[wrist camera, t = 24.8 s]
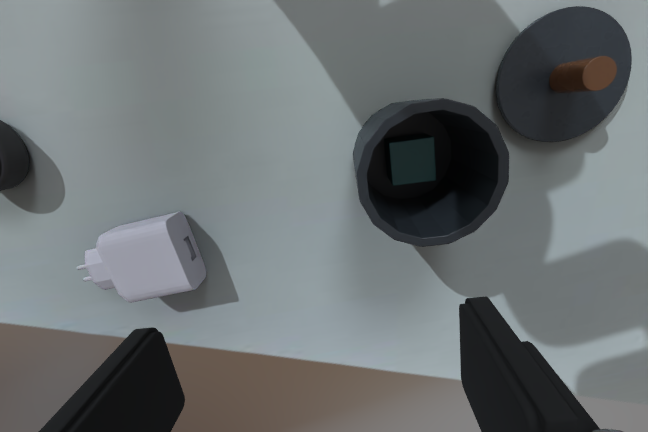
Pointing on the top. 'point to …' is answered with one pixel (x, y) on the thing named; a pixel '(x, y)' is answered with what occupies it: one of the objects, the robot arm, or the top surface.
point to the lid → (563, 74)
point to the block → (410, 159)
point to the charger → (147, 259)
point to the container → (451, 172)
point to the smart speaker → (12, 158)
